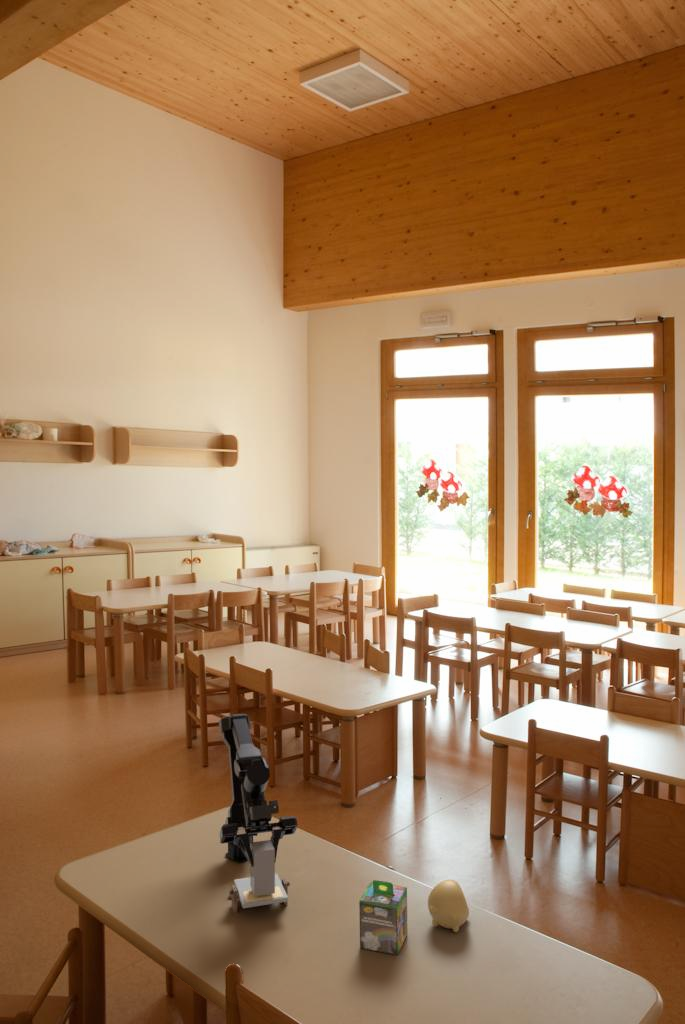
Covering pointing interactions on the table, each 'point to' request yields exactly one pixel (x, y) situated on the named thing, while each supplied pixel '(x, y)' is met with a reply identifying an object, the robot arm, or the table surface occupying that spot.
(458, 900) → the toy pig
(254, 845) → the tall grey rectangular block
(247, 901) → the trapdoor
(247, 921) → the table surface
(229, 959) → the table surface
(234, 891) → the trapdoor frame
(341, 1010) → the table surface
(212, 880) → the table surface
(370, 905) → the chalk box
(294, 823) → the robot arm
